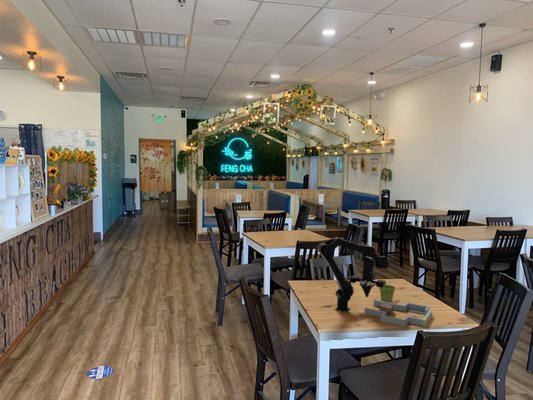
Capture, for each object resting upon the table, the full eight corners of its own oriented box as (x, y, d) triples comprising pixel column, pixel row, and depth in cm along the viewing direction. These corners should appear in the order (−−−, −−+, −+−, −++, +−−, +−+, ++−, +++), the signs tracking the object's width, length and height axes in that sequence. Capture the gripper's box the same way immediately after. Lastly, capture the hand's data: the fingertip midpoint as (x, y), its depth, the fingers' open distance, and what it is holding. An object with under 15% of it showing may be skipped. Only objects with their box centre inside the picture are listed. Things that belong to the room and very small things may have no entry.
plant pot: (380, 298, 235) (381, 283, 234) (396, 300, 230) (397, 286, 229) (376, 302, 227) (376, 287, 226) (393, 305, 222) (393, 290, 221)
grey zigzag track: (422, 330, 186) (422, 324, 186) (360, 317, 202) (360, 311, 202) (433, 312, 211) (433, 307, 210) (377, 302, 227) (377, 297, 226)
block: (390, 315, 205) (390, 308, 205) (379, 313, 208) (379, 306, 208) (393, 312, 211) (393, 305, 210) (381, 310, 214) (382, 303, 213)
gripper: (389, 268, 215) (388, 296, 216) (356, 263, 225) (355, 290, 226) (383, 272, 206) (382, 301, 207) (349, 267, 216) (348, 295, 217)
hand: (366, 297), depth 215 cm, fingers closed
